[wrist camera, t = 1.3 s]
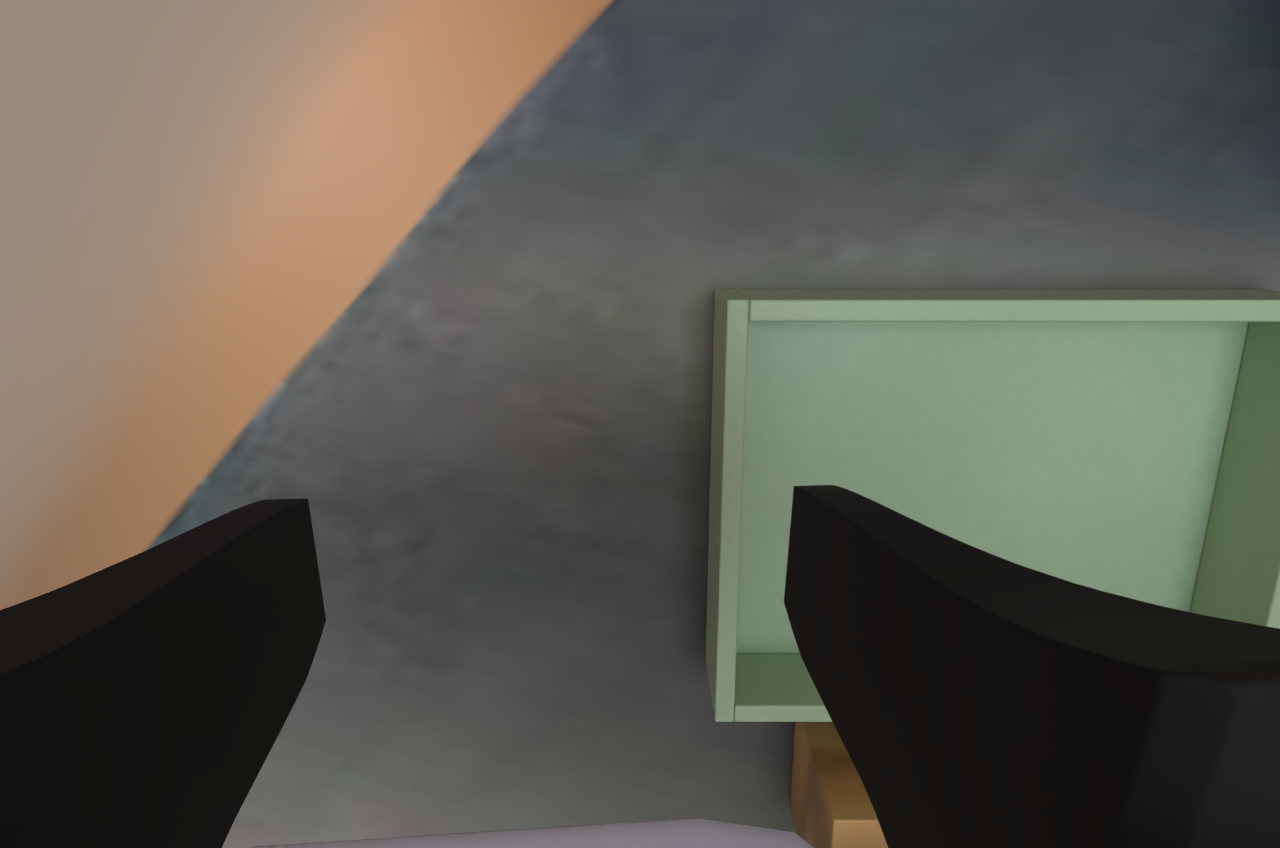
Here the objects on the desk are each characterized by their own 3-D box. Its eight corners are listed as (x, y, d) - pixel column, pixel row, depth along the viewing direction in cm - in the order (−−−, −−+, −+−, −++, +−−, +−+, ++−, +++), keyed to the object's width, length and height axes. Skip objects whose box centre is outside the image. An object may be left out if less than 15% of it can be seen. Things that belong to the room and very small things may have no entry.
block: (906, 806, 28) (968, 940, 23) (789, 806, 28) (824, 940, 23) (917, 704, 27) (984, 821, 22) (795, 704, 27) (833, 820, 22)
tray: (1184, 660, 27) (1263, 723, 23) (705, 659, 27) (714, 723, 23) (1261, 288, 23) (1366, 299, 20) (714, 288, 23) (727, 299, 20)
